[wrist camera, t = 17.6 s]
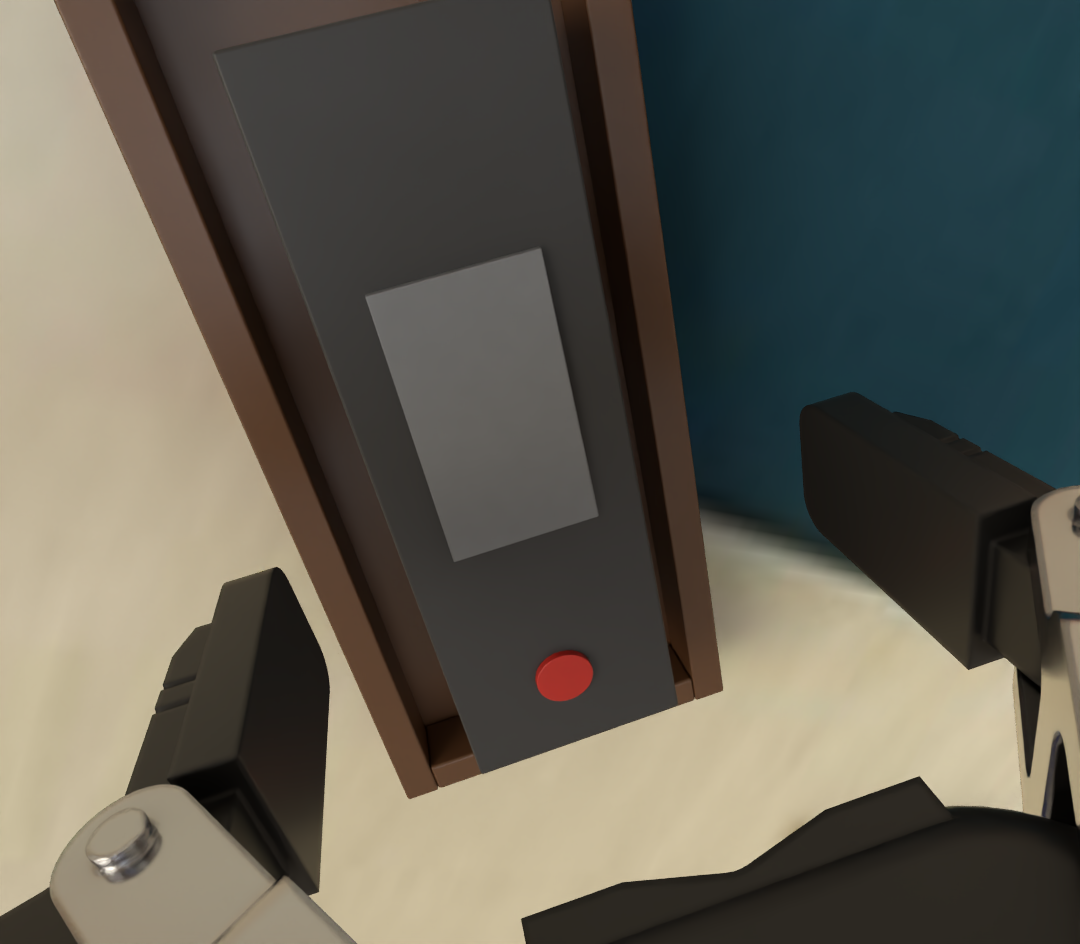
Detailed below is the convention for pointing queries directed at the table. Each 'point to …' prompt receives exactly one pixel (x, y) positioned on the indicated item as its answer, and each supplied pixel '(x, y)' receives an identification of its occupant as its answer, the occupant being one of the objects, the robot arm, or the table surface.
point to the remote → (469, 349)
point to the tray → (298, 360)
